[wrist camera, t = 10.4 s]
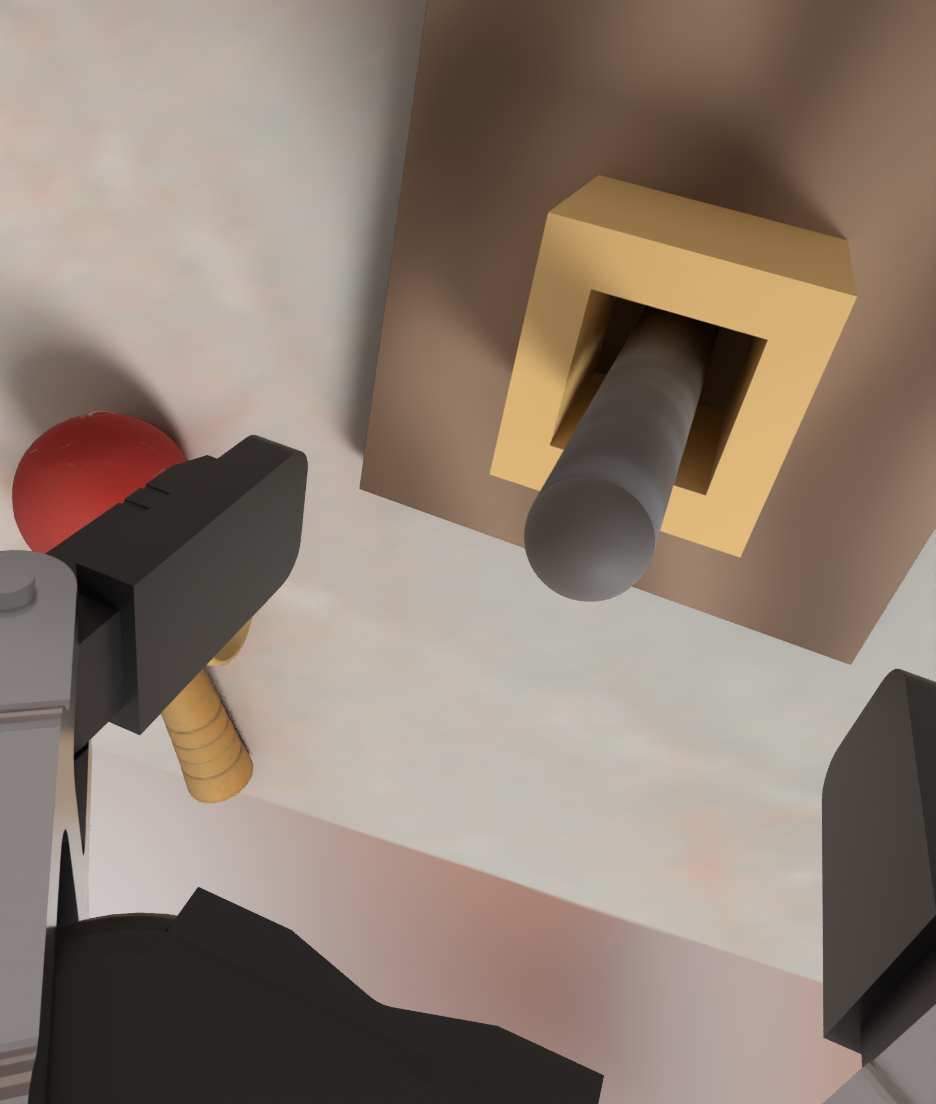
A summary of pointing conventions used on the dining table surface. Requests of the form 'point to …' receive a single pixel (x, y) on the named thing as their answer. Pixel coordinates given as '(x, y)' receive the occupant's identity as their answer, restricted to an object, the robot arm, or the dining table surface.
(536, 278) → the tan hollow square block
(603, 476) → the needle stand
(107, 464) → the kendama
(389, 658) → the dining table surface
